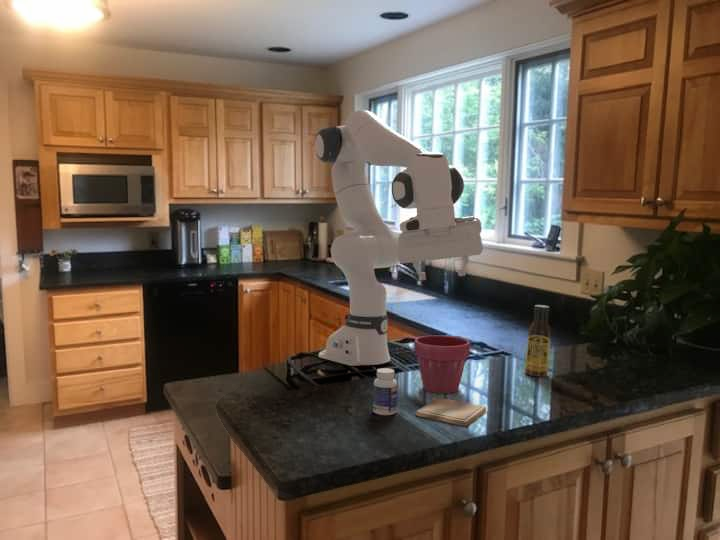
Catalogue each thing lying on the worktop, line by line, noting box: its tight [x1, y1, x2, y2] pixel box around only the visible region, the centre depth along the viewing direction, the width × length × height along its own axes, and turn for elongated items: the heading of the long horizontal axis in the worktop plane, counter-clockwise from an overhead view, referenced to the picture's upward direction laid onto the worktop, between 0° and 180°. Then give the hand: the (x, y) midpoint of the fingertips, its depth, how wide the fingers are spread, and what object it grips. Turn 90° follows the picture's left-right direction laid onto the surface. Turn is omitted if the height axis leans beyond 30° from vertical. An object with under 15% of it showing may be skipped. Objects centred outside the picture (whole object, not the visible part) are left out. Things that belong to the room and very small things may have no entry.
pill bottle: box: [372, 367, 398, 416], centre depth 137 cm, size 5×5×10 cm
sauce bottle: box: [524, 304, 552, 378], centre depth 170 cm, size 6×6×20 cm
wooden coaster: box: [415, 397, 487, 427], centre depth 137 cm, size 12×12×1 cm
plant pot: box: [413, 334, 471, 394], centre depth 156 cm, size 14×14×13 cm
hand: (442, 277), depth 144 cm, fingers open, 8 cm apart
